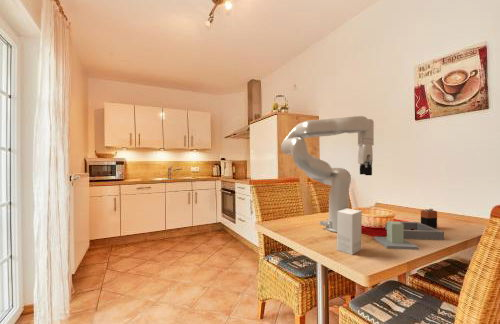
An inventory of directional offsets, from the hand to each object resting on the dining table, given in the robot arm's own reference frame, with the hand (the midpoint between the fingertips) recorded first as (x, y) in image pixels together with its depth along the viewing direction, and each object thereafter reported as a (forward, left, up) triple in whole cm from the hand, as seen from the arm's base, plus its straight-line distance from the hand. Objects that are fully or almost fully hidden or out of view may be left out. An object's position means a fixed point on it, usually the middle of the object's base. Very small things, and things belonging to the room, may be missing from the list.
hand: (365, 174), depth 125 cm
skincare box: (-19, -35, -28) cm, 49 cm away
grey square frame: (+19, -8, -28) cm, 35 cm away
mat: (+3, -25, -28) cm, 38 cm away
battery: (+35, +4, -28) cm, 45 cm away
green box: (+3, -25, -27) cm, 37 cm away
